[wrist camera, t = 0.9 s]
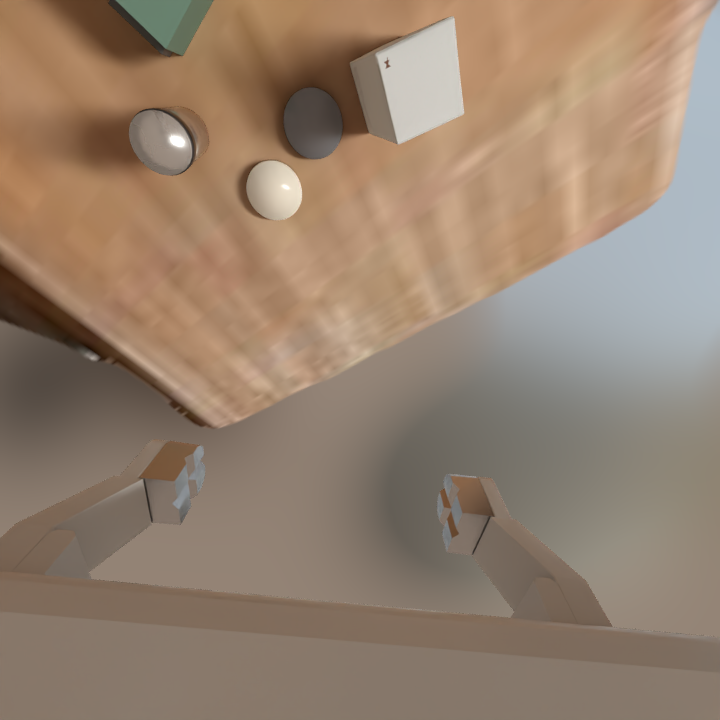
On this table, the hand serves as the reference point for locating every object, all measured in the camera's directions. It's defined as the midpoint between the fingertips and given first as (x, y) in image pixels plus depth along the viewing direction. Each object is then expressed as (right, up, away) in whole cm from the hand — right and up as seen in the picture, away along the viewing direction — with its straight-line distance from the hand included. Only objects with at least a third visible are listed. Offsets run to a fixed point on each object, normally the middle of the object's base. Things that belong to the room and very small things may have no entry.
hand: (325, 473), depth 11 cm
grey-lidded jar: (-19, +30, +28) cm, 45 cm away
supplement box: (+4, +37, +29) cm, 47 cm away
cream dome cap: (-10, +26, +33) cm, 43 cm away
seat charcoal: (-5, +33, +29) cm, 44 cm away
